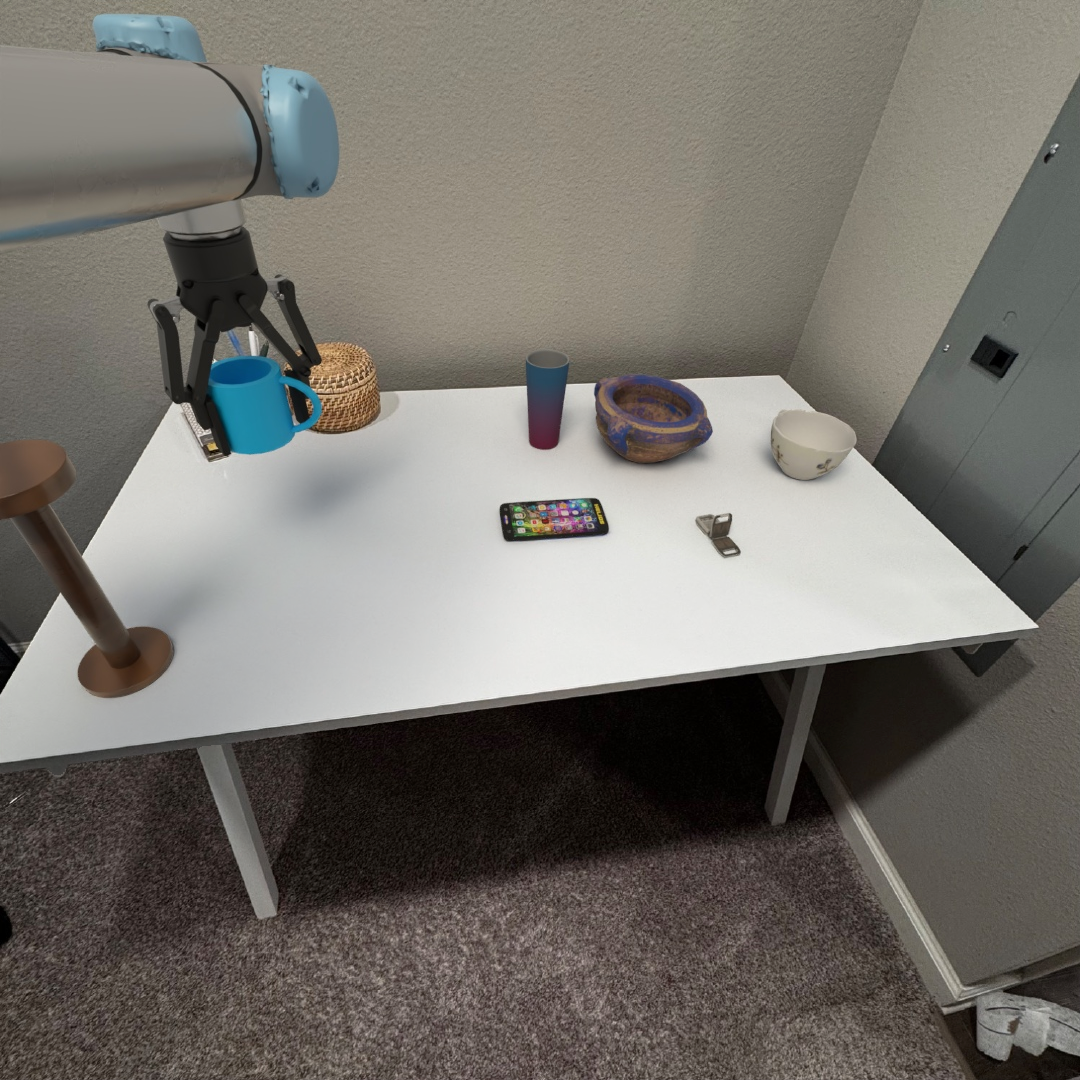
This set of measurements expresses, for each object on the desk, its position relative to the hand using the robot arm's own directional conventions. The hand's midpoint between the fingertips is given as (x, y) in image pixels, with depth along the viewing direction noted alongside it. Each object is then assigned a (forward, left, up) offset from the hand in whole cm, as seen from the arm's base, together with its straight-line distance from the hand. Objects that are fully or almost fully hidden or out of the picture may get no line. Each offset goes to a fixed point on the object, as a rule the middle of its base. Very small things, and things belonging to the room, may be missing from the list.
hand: (265, 436), depth 73 cm
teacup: (+71, -32, -17) cm, 80 cm away
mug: (+1, 0, 0) cm, 1 cm away
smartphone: (+30, -18, -17) cm, 39 cm away
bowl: (+55, -13, -17) cm, 59 cm away
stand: (-23, -7, -17) cm, 29 cm away
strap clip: (+46, -35, -17) cm, 61 cm away
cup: (+43, -1, -17) cm, 46 cm away
